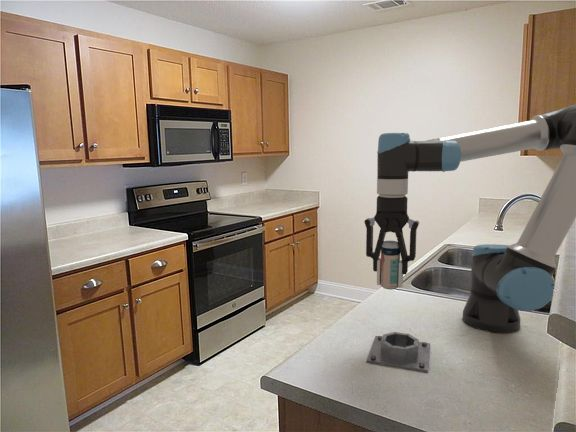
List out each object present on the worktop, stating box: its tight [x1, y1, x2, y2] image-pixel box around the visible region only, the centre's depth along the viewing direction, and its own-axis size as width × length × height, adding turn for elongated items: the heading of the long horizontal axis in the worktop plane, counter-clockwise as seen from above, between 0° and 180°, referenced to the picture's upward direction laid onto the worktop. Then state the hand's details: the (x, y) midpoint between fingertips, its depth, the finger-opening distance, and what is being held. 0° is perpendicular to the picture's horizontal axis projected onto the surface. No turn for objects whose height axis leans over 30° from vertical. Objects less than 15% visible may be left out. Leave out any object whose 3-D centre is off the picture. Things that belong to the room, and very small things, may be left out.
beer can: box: [379, 240, 401, 290], centre depth 106 cm, size 5×5×12 cm
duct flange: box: [365, 331, 431, 373], centre depth 102 cm, size 14×14×4 cm
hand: (389, 284), depth 107 cm, fingers closed on beer can, 5 cm apart
